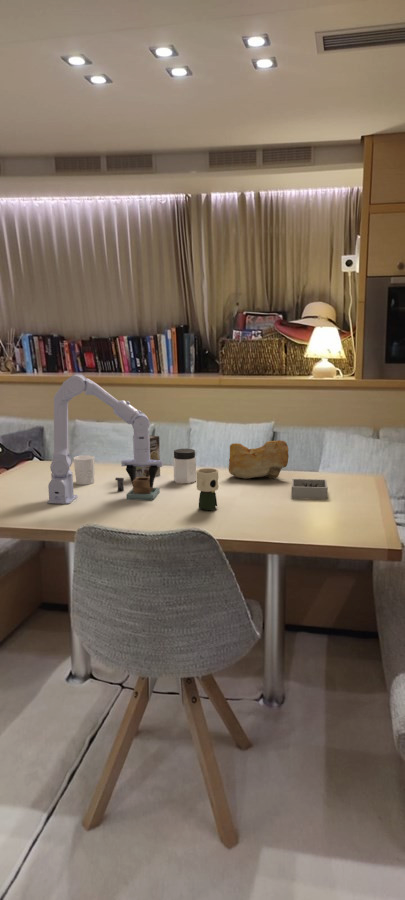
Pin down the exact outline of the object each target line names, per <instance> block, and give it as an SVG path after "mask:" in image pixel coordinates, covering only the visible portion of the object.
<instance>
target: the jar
mask: <svg viewBox="0 0 405 900" xmlns="http://www.w3.org/2000/svg"><path fill="white" fill-rule="evenodd" d="M196 459H197V457H196V450H195V449H192V448H178V449H175V450H173V480H174V482H175V483H176V484H183V483H188V484H192V483H196V482H197V476H196V471H197V460H196ZM195 481H196V482H195ZM191 482H192V483H191Z"/></svg>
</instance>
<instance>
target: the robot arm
mask: <svg viewBox="0 0 405 900" xmlns="http://www.w3.org/2000/svg"><path fill="white" fill-rule="evenodd" d="M82 393H84V395H85V396H87V395H88V396H95V397H96V398H97V399H98V400H99V401H101V402H103V403H105V404H106V405H108V406H109V407H111V408H112V409H113V410H112V411H113V414H114V415H116V416H117V417H118V418H120V419H121V420H122V421H123V422H125V423H126V424H127V425H131V426H132V429H133V435H132V440H133V441H132V444H133V459H132V458H131V459H123V460H121V461H120V462H121V467H126V468H125V471H126V472H127V474H128V476H129V479H130V481H131V484H132V486H133V480H134V479H135V478H136V466H151V467H150V468H149V475H150V487H152V486H153V487H154V482H155V478H156V477H155V475H156V472H157V470H158V467H160V468H163V466H164V461H163V460H161V459H160V460H151V459H150V436H151V435H150V430H149V428H150V425H151V424H150V420H149V417H148V416H147V415H146V413H144V412H142V410H140V409H137V408H136V407H134V406H133V405H131V401H129V400H126V401H125V400H124V399H122V400H118V399H117V398H116V397H114V396H113V395H111V394H110V392H107V390H105V389H104V388H102V386H100V385H99V384H98V383H96V382H95V381H94V380H92V379H90V378H88V377H86V376H84V374H81V373H75V374H72V375H71V376H70V377H68V378H67V379H66V380H64V381H63V382H62V384H61V385H60V387H59V389H58V390H57V391H56V393H55V394H54V396H53V440H54V441H53V445H54V446H53V453H52V454H53V455H52V461H51V463H50V466H49V467H50V472H51V473H50V474H51V475H50V479H51V480H50V481H49V483H48V487H47V488H48V489H47V490H48V498H49V499H48V500H47V501H46V504H63V505H64V504H65V505H67V504H70V503H72V502H73V501H74V500H75V499H76V498H78V496H79V495H78V494H74V480H73V479H74V478H73V476H74V475H73V472H72V470H71V469H70V468H71V466H72V463H73V461H72V458H71V456H70V448H69V401H71V400H72V399H73V398H74V397H76V396H78V395H81V394H82Z"/></svg>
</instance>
